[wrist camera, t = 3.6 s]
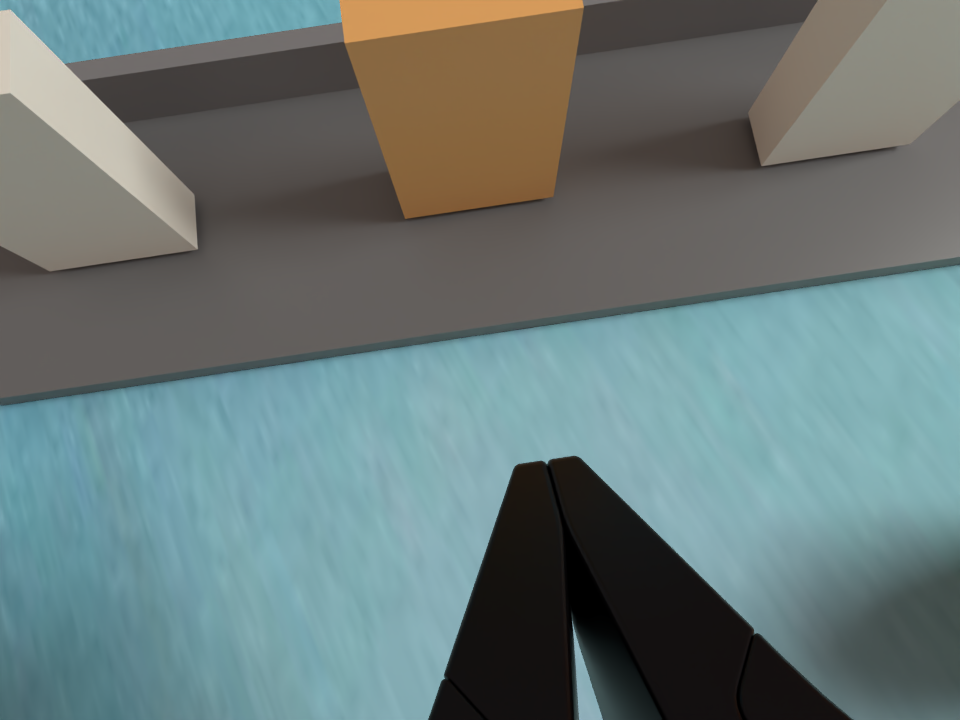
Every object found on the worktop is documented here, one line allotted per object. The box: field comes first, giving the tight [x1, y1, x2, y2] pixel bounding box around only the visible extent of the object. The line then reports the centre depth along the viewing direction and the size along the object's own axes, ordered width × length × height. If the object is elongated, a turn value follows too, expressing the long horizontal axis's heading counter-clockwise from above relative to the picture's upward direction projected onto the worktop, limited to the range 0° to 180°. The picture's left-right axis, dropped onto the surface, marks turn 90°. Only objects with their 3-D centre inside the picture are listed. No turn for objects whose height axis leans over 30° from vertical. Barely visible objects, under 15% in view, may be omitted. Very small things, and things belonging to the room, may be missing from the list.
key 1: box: [748, 0, 960, 166], centre depth 19 cm, size 2×5×9 cm, turn 98°
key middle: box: [340, 0, 584, 219], centre depth 19 cm, size 2×5×9 cm, turn 98°
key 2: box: [0, 10, 198, 271], centre depth 19 cm, size 2×5×9 cm, turn 98°
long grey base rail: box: [0, 0, 960, 405], centre depth 23 cm, size 10×34×4 cm, turn 98°
